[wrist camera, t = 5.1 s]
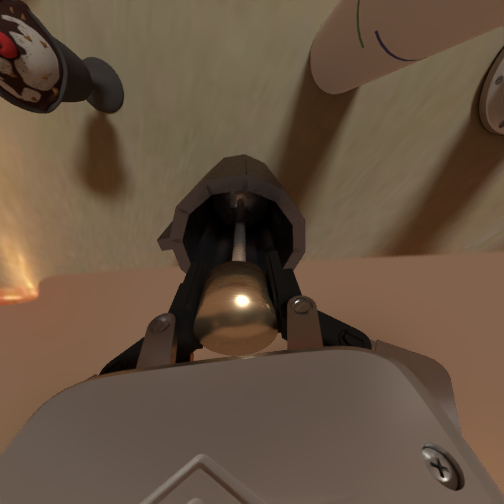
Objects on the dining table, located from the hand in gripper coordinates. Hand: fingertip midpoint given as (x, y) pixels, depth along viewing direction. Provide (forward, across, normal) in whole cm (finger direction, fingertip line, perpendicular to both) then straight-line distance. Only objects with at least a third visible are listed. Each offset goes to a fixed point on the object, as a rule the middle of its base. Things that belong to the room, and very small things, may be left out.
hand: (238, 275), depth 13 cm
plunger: (+17, 0, 0) cm, 17 cm away
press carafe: (+20, +1, 0) cm, 20 cm away
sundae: (+20, +14, -15) cm, 29 cm away
